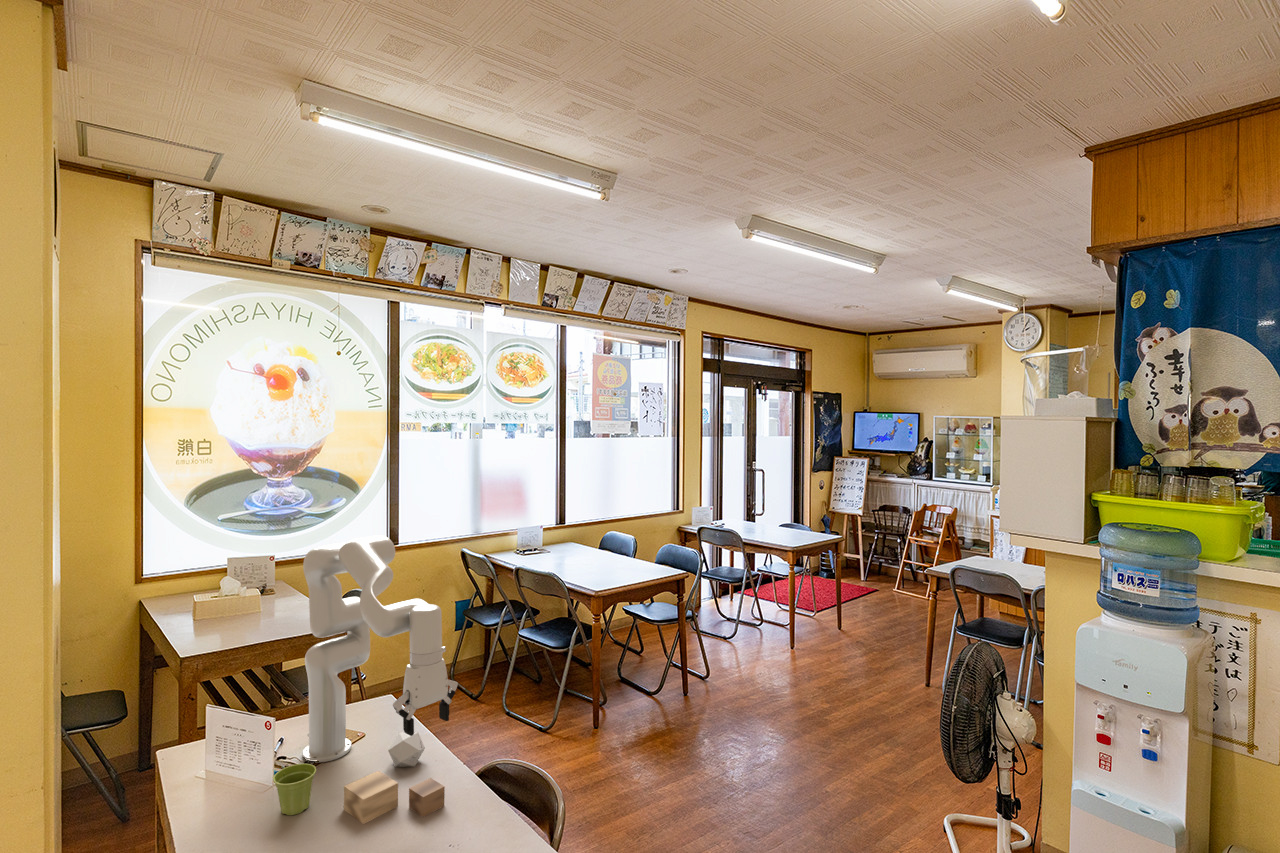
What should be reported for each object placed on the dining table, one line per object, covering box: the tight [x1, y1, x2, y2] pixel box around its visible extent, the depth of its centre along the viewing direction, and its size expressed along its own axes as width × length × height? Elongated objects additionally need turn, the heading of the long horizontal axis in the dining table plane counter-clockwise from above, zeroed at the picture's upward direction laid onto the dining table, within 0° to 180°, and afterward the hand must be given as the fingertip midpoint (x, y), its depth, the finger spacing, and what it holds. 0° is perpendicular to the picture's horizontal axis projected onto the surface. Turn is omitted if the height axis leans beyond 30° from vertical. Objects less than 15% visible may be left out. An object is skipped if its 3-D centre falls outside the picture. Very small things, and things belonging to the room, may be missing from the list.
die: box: [387, 731, 426, 767], centre depth 182 cm, size 8×9×10 cm
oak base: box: [343, 770, 399, 825], centre depth 162 cm, size 9×9×6 cm
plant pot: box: [272, 763, 317, 816], centre depth 161 cm, size 9×9×9 cm
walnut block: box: [408, 777, 446, 818], centre depth 162 cm, size 6×6×5 cm
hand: (427, 726), depth 161 cm, fingers open, 9 cm apart
